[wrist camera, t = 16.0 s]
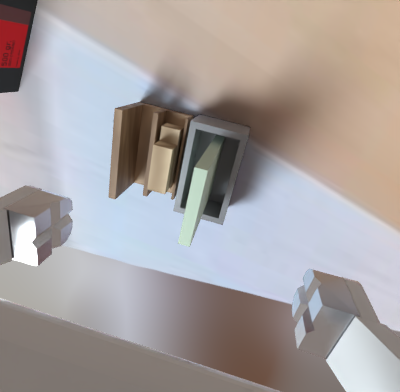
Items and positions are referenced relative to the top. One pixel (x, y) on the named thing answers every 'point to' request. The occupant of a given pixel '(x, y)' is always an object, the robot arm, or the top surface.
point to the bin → (227, 167)
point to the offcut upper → (161, 166)
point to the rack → (141, 145)
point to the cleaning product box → (14, 40)
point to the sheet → (200, 189)
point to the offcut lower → (172, 142)
